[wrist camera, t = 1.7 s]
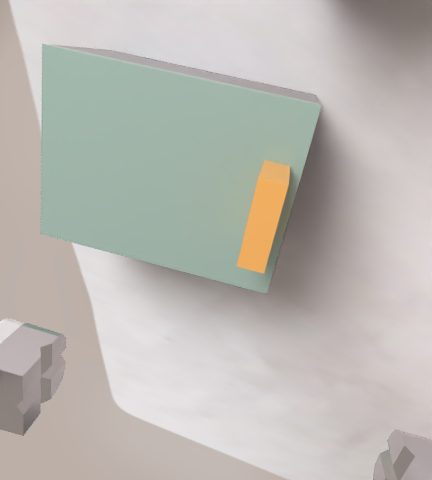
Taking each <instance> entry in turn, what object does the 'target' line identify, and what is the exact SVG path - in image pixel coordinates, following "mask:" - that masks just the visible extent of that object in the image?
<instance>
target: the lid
mask: <svg viewBox="0 0 432 480" xmlns="http://www.w3.org/2000/svg"><path fill="white" fill-rule="evenodd" d="M321 106H322V105H321V104H319V103H315V102H310V101H306V100H301V99H296V98H292V97H287V96H283V95H278V94H274V93H269V92H265V91H260V90H256V89H251V88H246V87H242V86H237V85H233V84H228V83H224V82H219V81H215V80H210V79H205V78H201V77H196V76H192V75H187V74H183V73H178V72H174V71H169V70H165V69H160V68H155V67H151V66H146V65H142V64H137V63H133V62H128V61H124V60H119V59H115V58H110V57H105V56H101V55H96V54H92V53H87V52H83V51H78V50H74V49H69V48H64V47H60V46H55V45H46V44H42V138H41V234H43V235H47V236H50V237H54V238H58V239H62V240H65V241H69V242H73V243H77V244H80V245H84V246H88V247H92V248H95V249H99V250H103V251H107V252H110V253H114V254H118V255H122V256H125V257H129V258H133V259H137V260H140V261H144V262H148V263H152V264H155V265H159V266H163V267H167V268H170V269H174V270H178V271H182V272H186V273H189V274H193V275H197V276H201V277H204V278H208V279H212V280H216V281H219V282H223V283H227V284H231V285H234V286H238V287H242V288H246V289H249V290H253V291H257V292H261V293H264V294H267V293H268V289H269V286H270V282H271V279H272V276H273V272H274V269H275V265H276V262H277V258H278V255H279V251H280V248H281V245H282V241H283V238H284V234H285V231H286V227H287V224H288V220H289V217H290V213H291V210H292V207H293V203H294V200H295V196H296V193H297V189H298V186H299V182H300V179H301V176H302V172H303V169H304V165H305V162H306V158H307V155H308V151H309V148H310V144H311V141H312V138H313V134H314V131H315V127H316V124H317V120H318V117H319V113H320V110H321Z"/></svg>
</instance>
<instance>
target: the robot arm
mask: <svg viewBox="0 0 432 480" xmlns="http://www.w3.org/2000/svg"><path fill="white" fill-rule="evenodd" d="M65 348H66V337H65V336H64V335H63V334H60V333H57V332H54V331H50V330H47V329H44V328H41V327H37V326H35V325H31V324H28V323H27V324H26V323H23V322H20V321H17V320H14V319H11V318H7V319H4V320H2V321H1V322H0V429H2V430H5V431H8V432H12V433H16V434H19V435H23V436H24V434H25V433H26V431H27V430H28V429H29V427H30V426H31V425H32V423H33V422H34V421H35V419H36V418H37V417H38V416H39V414H40V404H41V403H43V402H45V401H48V400H50V399H51V398H52V396H53V395H54V393H55V392H56V391H57V389H58V387H59V385H60V383H61V381H62V379H63V375H64V370H65V360H64V359H63V357H62V355H61V353H62V352H63V350H64V349H65ZM387 442H388V447H389V450H387V451H385V452H383V453H381V454H380V455H379V457H378V459H377V461H376V463H375V468H374V474H373V480H432V440H431V439H427V438H424V437H420V436H417V435H413V434H409V433H406V432H402V431H399V430H395V431H394V432H392V433H391V435H390V436H389V438H388V440H387Z"/></svg>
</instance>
